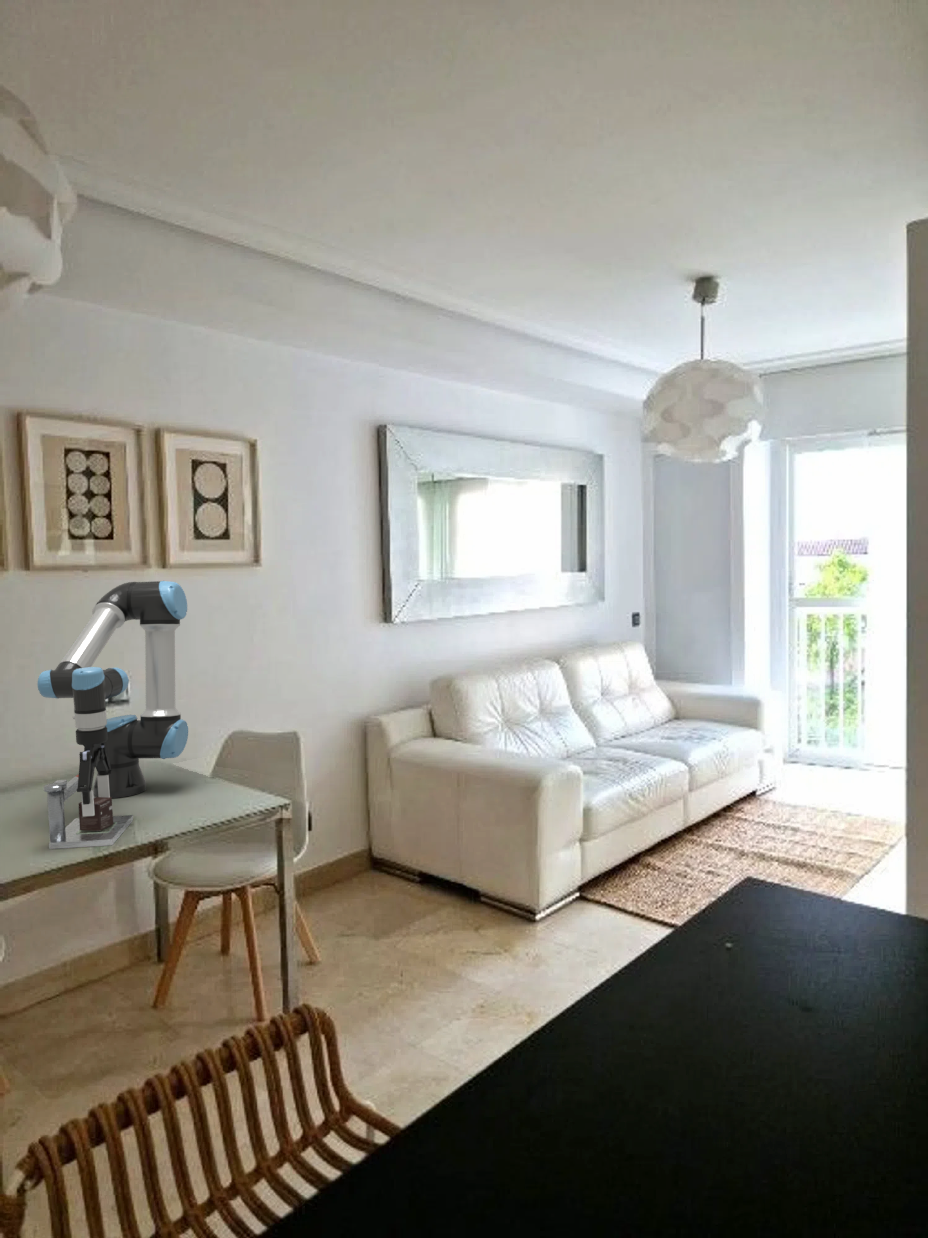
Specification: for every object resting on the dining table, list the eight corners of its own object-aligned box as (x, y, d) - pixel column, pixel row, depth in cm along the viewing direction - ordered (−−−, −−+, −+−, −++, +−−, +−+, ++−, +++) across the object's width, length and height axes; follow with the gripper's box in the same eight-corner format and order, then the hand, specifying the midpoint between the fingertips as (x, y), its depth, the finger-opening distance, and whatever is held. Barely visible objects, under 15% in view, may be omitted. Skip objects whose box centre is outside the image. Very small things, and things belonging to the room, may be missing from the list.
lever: (63, 808, 209) (61, 787, 208) (41, 809, 208) (40, 788, 208) (91, 783, 232) (90, 764, 231) (72, 784, 231) (71, 765, 231)
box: (100, 832, 217) (98, 804, 216) (79, 831, 218) (77, 803, 217) (114, 824, 223) (112, 797, 222) (93, 823, 224) (91, 796, 223)
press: (74, 824, 229) (71, 773, 228) (132, 820, 231) (130, 770, 230) (47, 849, 210) (44, 793, 208) (112, 845, 211) (109, 790, 210)
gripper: (90, 718, 230) (96, 793, 232) (59, 739, 206) (65, 824, 208) (119, 716, 231) (124, 792, 233) (91, 738, 207) (97, 822, 209)
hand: (96, 807), depth 221 cm, fingers open, 13 cm apart
